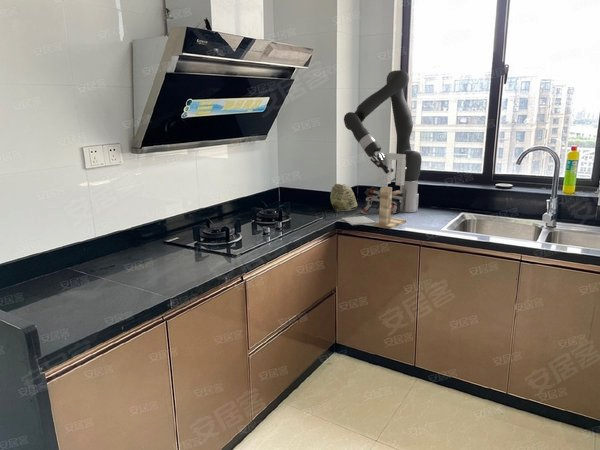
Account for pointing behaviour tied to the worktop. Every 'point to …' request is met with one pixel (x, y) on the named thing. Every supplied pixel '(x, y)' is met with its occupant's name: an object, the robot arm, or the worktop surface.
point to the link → (400, 168)
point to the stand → (387, 209)
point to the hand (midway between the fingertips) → (390, 172)
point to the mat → (358, 220)
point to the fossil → (342, 198)
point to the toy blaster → (375, 196)
